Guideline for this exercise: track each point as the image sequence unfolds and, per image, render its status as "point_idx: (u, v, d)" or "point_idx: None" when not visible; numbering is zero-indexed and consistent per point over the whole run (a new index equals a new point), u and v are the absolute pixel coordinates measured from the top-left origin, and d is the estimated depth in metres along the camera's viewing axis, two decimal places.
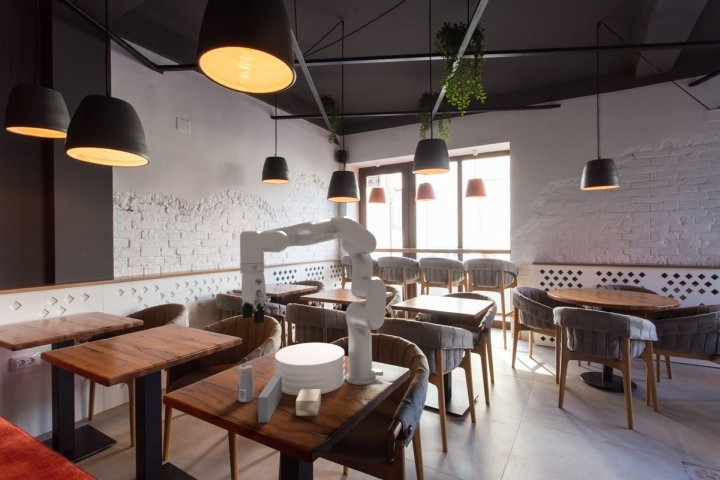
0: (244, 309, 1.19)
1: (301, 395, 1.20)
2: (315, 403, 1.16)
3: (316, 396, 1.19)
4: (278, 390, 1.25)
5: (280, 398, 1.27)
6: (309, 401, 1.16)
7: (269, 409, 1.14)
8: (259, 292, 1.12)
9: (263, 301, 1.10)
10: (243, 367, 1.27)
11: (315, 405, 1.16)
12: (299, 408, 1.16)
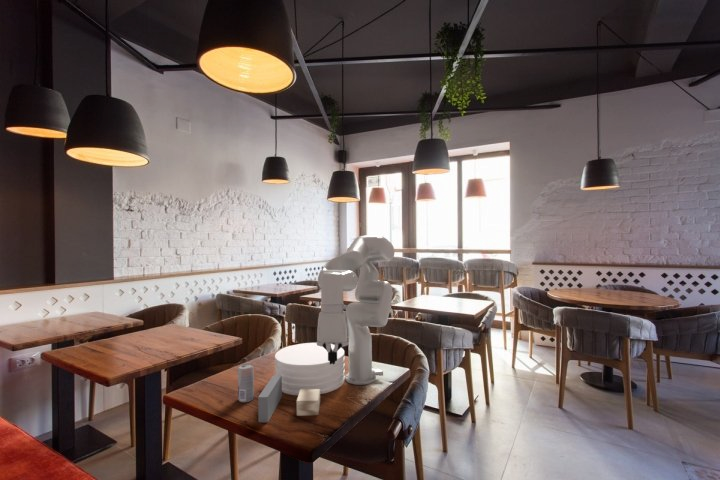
0: (331, 355, 1.18)
1: (301, 395, 1.20)
2: (316, 403, 1.16)
3: (316, 396, 1.19)
4: (278, 390, 1.25)
5: (280, 398, 1.27)
6: (310, 401, 1.16)
7: (269, 409, 1.14)
8: None
9: None
10: (243, 367, 1.27)
11: (316, 405, 1.16)
12: (299, 408, 1.16)
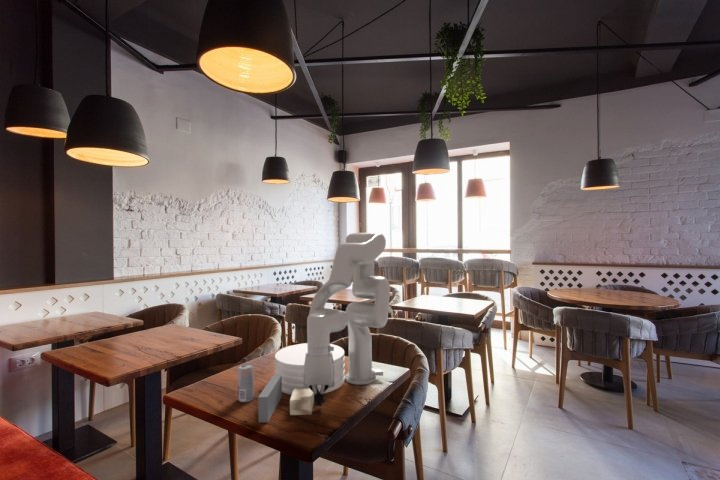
0: (318, 396, 1.19)
1: (294, 395, 1.20)
2: (309, 402, 1.16)
3: (310, 395, 1.19)
4: (278, 390, 1.25)
5: (280, 398, 1.27)
6: (303, 400, 1.16)
7: (269, 409, 1.14)
8: None
9: None
10: (243, 367, 1.27)
11: (309, 404, 1.16)
12: (292, 407, 1.16)
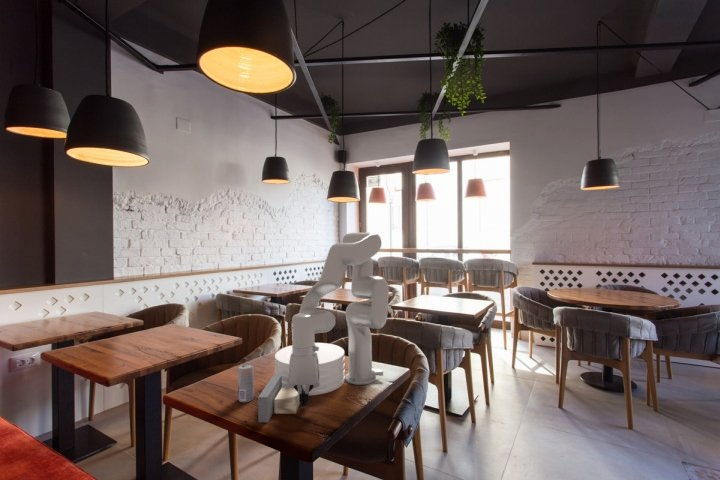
0: (303, 396, 1.19)
1: (280, 393, 1.21)
2: (293, 402, 1.17)
3: (295, 395, 1.20)
4: (278, 390, 1.25)
5: None
6: (288, 400, 1.17)
7: (269, 409, 1.14)
8: None
9: None
10: (243, 367, 1.27)
11: (293, 404, 1.17)
12: (277, 406, 1.17)
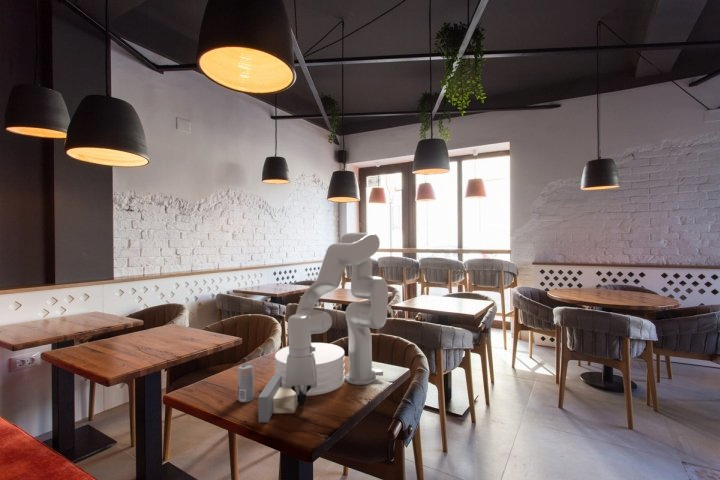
0: (300, 397, 1.19)
1: (279, 393, 1.21)
2: (292, 401, 1.17)
3: (293, 394, 1.20)
4: None
5: None
6: (286, 399, 1.17)
7: (269, 409, 1.14)
8: None
9: None
10: (243, 367, 1.27)
11: (292, 403, 1.17)
12: (276, 405, 1.18)
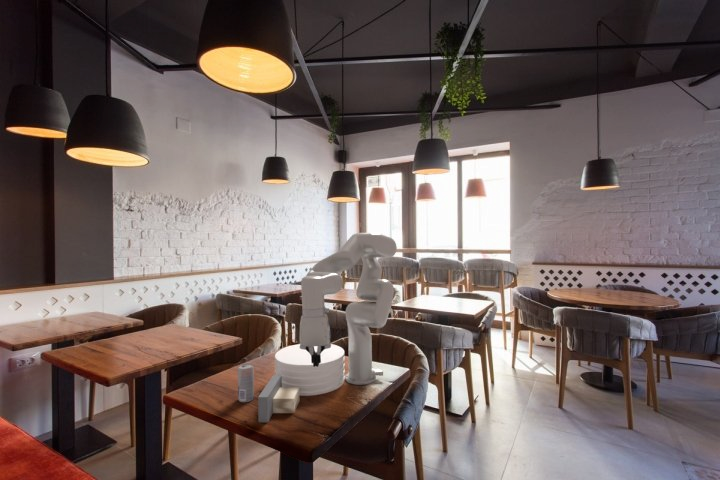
0: (315, 357, 1.20)
1: (279, 393, 1.22)
2: (292, 401, 1.17)
3: (293, 394, 1.20)
4: None
5: None
6: (286, 399, 1.17)
7: (269, 409, 1.14)
8: None
9: None
10: (243, 367, 1.27)
11: (292, 403, 1.17)
12: (275, 406, 1.18)
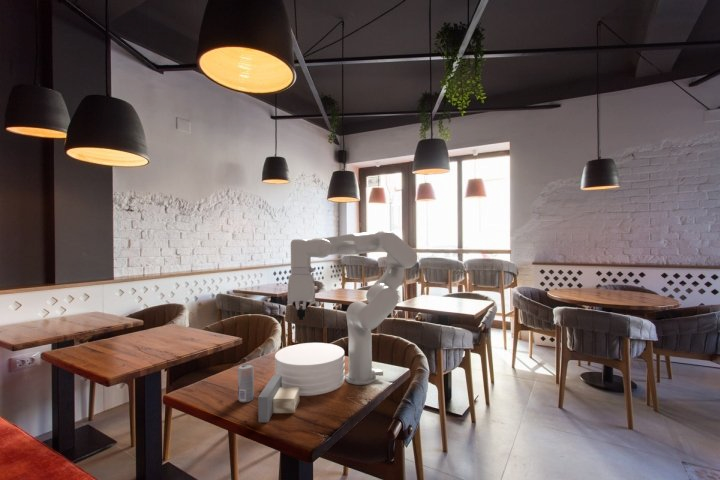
0: (300, 312, 1.34)
1: (279, 393, 1.21)
2: (292, 401, 1.17)
3: (294, 394, 1.20)
4: None
5: None
6: (286, 399, 1.17)
7: (269, 409, 1.14)
8: None
9: (312, 303, 1.35)
10: (243, 367, 1.27)
11: (292, 403, 1.17)
12: (276, 406, 1.18)
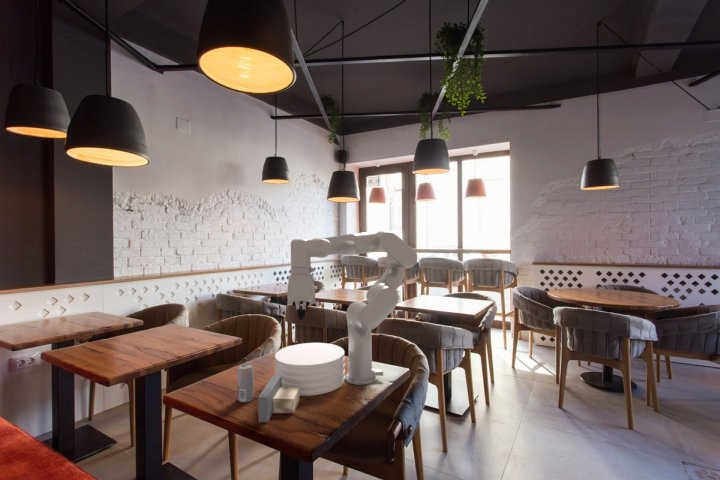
0: (300, 311, 1.34)
1: (279, 393, 1.22)
2: (292, 401, 1.17)
3: (293, 394, 1.20)
4: None
5: None
6: (286, 399, 1.17)
7: (269, 409, 1.14)
8: None
9: (312, 303, 1.35)
10: (243, 367, 1.27)
11: (292, 403, 1.17)
12: (276, 406, 1.18)
